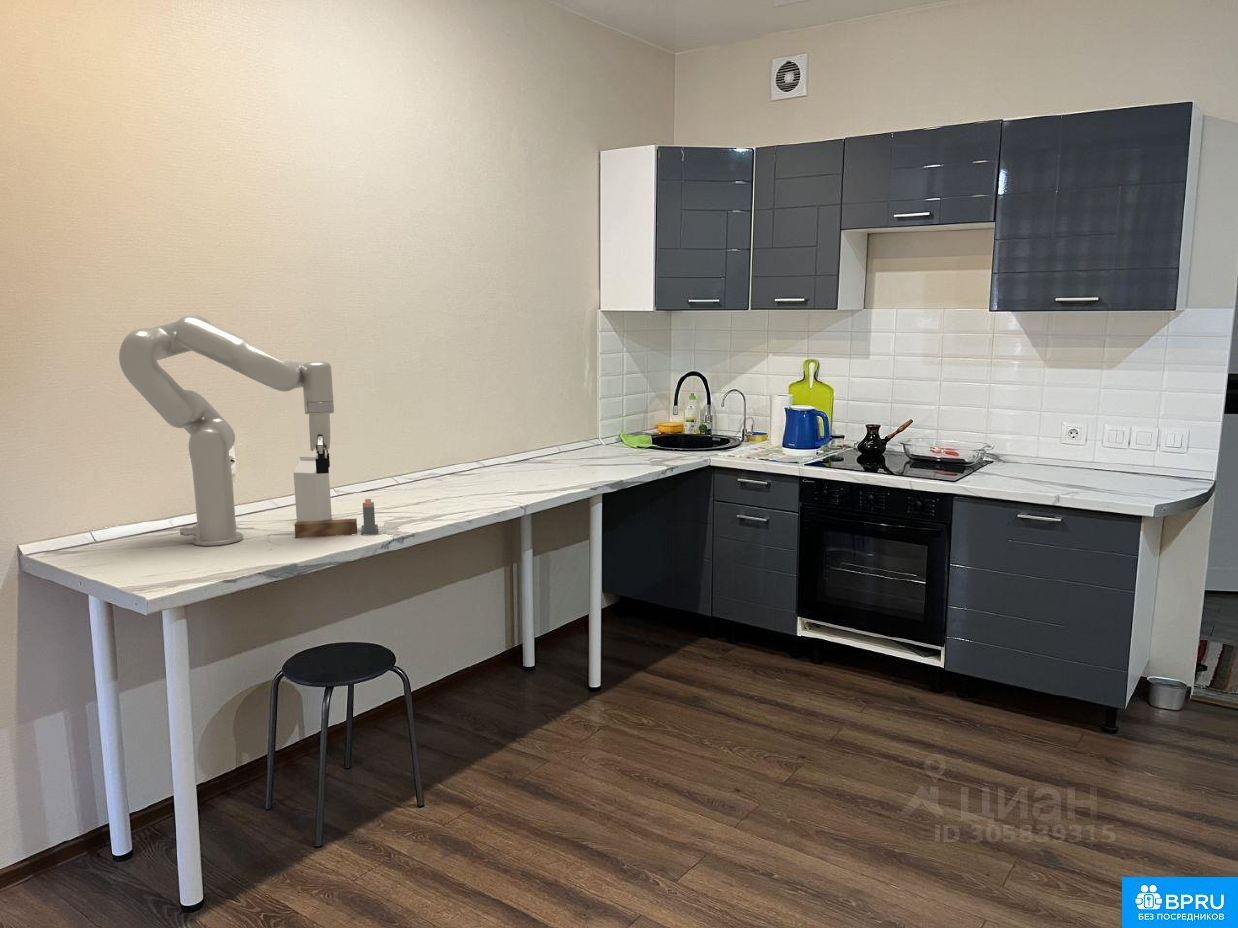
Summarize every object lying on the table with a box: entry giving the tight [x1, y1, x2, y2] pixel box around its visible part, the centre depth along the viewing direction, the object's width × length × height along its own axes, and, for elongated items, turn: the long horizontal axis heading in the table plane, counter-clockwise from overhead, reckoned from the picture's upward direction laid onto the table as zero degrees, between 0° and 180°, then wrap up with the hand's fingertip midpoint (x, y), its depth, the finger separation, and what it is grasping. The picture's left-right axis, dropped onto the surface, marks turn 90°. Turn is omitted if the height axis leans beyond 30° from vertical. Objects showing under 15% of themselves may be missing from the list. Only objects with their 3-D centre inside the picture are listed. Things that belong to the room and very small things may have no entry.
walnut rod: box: [294, 518, 358, 539], centre depth 260 cm, size 16×4×4 cm, turn 101°
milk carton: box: [293, 456, 333, 522], centre depth 276 cm, size 7×7×19 cm
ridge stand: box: [361, 498, 379, 536], centre depth 262 cm, size 4×7×9 cm, turn 15°
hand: (323, 470), depth 257 cm, fingers open, 9 cm apart
